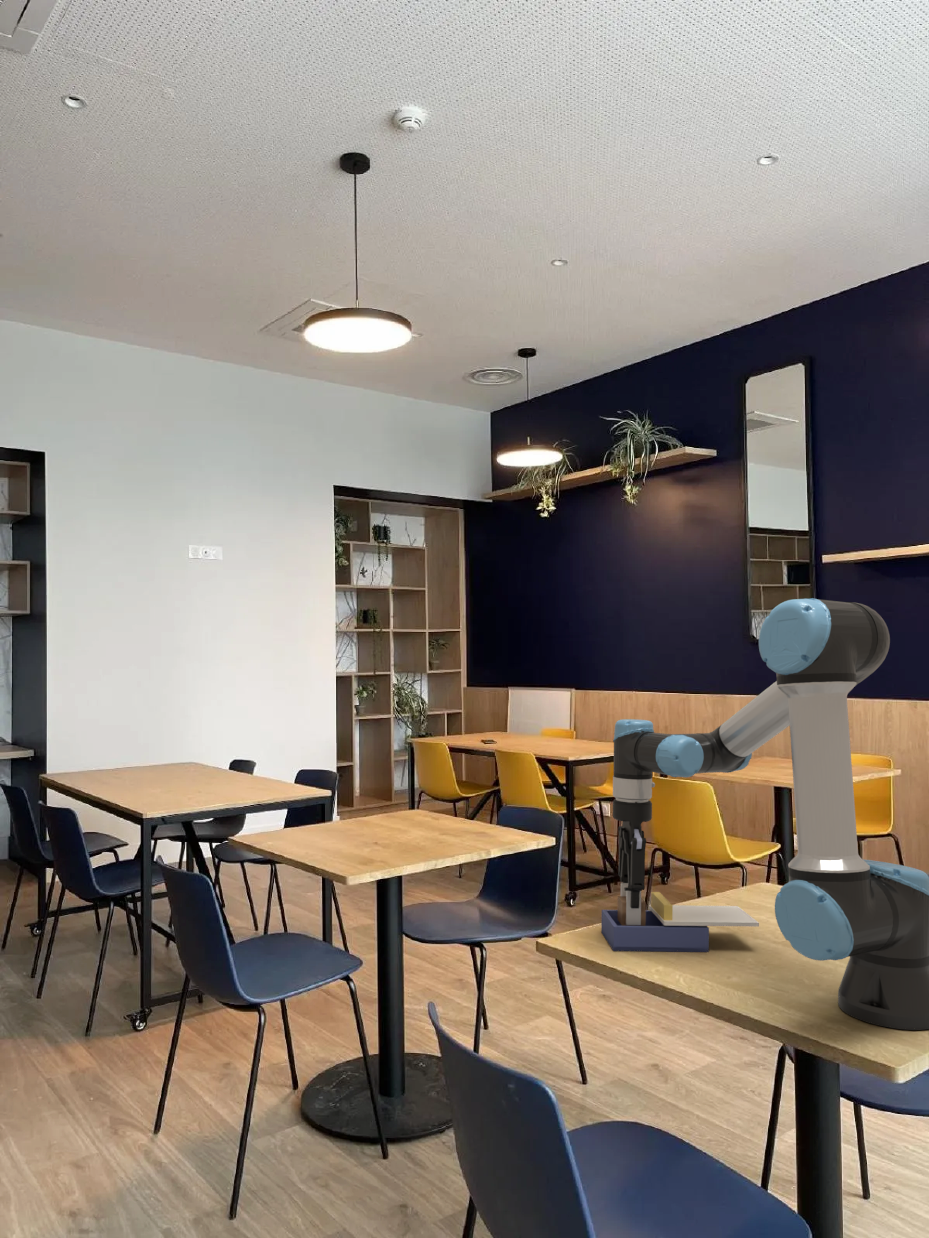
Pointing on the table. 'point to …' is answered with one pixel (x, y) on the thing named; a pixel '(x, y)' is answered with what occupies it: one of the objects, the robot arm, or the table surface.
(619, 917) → the block
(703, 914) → the lid
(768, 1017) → the table surface
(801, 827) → the robot arm
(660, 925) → the blue tray
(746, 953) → the table surface
